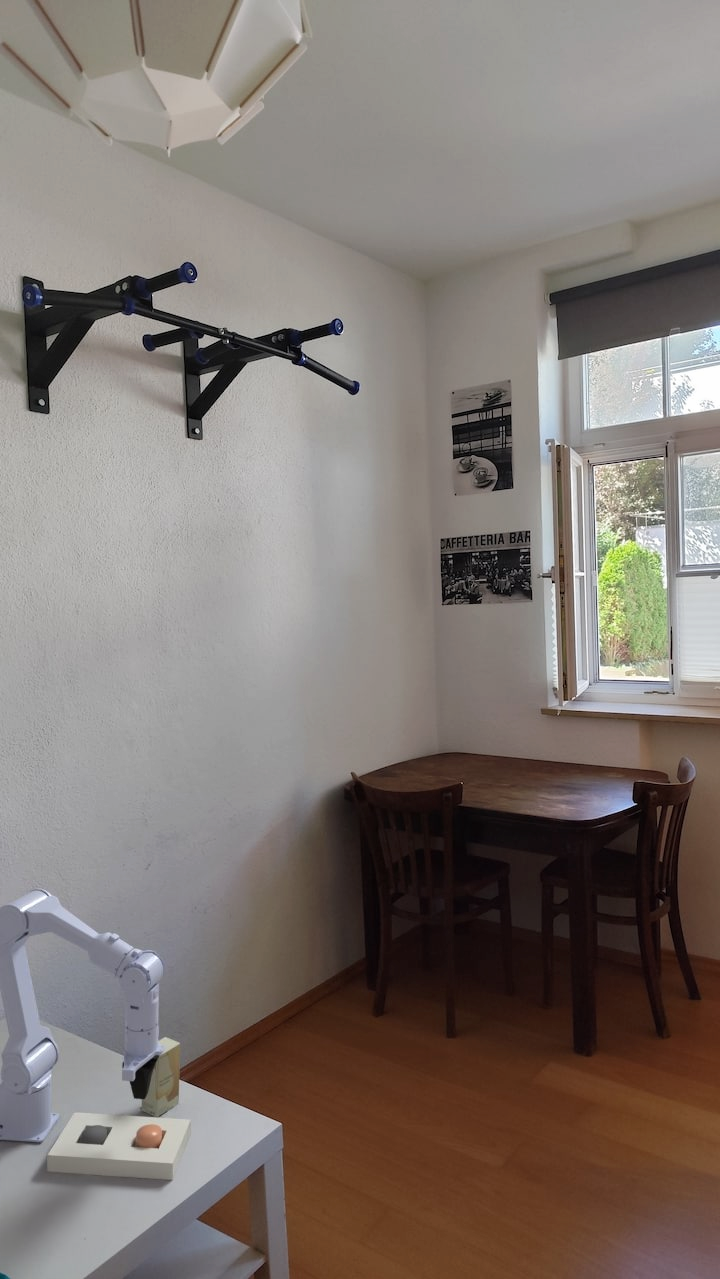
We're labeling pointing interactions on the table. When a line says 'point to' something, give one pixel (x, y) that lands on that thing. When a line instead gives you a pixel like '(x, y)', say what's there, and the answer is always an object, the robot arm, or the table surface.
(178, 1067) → the skincare box
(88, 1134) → the grey rounded piece
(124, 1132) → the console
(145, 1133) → the terracotta button
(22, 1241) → the table surface
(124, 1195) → the table surface
